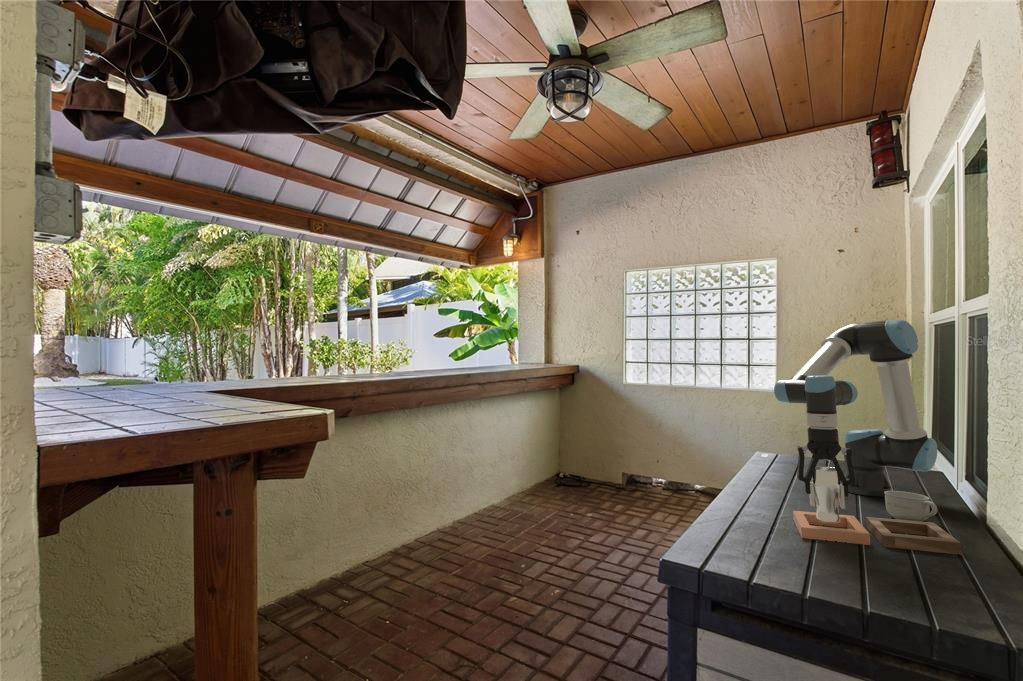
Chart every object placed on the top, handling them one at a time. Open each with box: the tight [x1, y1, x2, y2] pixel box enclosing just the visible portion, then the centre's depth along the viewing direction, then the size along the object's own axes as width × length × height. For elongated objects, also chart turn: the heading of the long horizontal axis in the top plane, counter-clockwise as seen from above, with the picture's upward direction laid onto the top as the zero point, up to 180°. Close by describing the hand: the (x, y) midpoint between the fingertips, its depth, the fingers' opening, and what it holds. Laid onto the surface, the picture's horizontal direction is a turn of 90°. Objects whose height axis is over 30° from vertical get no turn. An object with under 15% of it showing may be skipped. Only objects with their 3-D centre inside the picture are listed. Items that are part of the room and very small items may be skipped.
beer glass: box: [811, 465, 841, 523], centre depth 137 cm, size 7×7×15 cm
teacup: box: [884, 490, 938, 522], centre depth 143 cm, size 14×11×8 cm
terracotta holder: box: [792, 510, 871, 546], centre depth 137 cm, size 16×16×3 cm
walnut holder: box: [865, 516, 963, 556], centre depth 129 cm, size 16×16×3 cm
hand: (827, 506), depth 137 cm, fingers closed on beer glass, 7 cm apart
